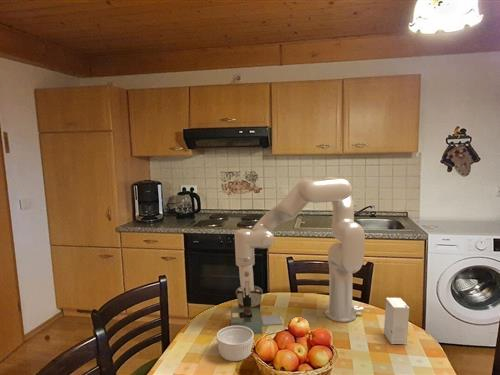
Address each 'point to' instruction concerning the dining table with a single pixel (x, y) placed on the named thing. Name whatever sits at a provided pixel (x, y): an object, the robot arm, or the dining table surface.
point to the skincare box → (396, 320)
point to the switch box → (247, 319)
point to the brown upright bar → (247, 311)
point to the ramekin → (235, 342)
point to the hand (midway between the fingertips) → (247, 304)
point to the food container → (255, 297)
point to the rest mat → (271, 320)
